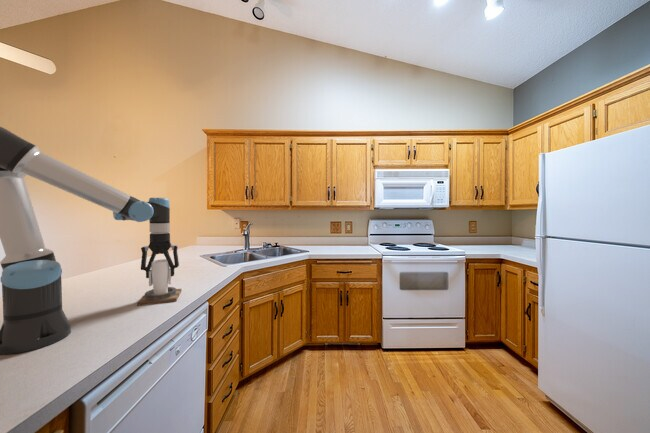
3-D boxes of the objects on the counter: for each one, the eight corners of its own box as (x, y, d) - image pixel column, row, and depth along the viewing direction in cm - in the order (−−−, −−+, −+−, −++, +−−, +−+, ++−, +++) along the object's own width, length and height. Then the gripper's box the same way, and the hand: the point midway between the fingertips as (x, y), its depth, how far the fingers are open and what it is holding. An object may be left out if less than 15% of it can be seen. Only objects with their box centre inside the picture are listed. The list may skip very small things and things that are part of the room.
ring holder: (176, 301, 108) (176, 294, 108) (137, 305, 103) (137, 298, 103) (181, 291, 121) (181, 284, 121) (146, 294, 116) (146, 288, 116)
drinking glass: (153, 292, 114) (152, 259, 113) (170, 290, 117) (170, 258, 116) (150, 297, 108) (149, 263, 107) (168, 295, 111) (168, 261, 110)
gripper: (186, 231, 118) (186, 279, 119) (135, 232, 111) (136, 284, 112) (183, 232, 111) (184, 284, 112) (129, 234, 104) (131, 289, 105)
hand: (160, 284), depth 112 cm, fingers closed on drinking glass, 7 cm apart
